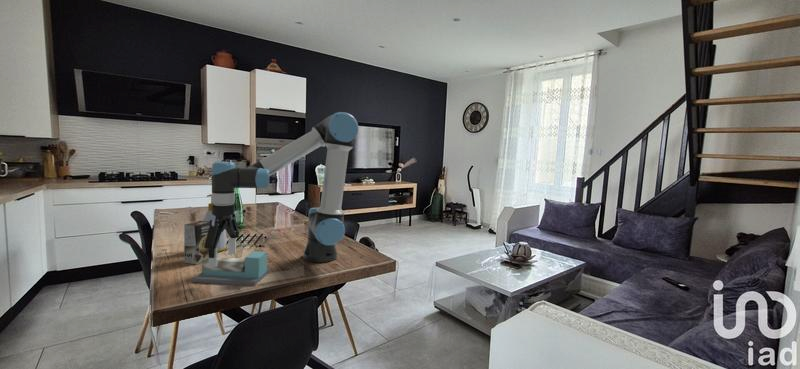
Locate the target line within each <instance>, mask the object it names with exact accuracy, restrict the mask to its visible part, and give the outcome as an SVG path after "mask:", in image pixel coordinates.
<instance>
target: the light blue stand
mask: <svg viewBox="0 0 800 369" xmlns="http://www.w3.org/2000/svg"><path fill="white" fill-rule="evenodd" d="M244 259H245V272H230V271H212V270H205V271H204V273H202V272H201V273H199V274H197V275H195V276H194V277H193V278H192V279H193V280H192V282H193V283H201V284H202V283H205V284H216V285H217V284H220V285H237V286H256V285H257V284H259V282H261V281H262V280H263V279H264V278H265V277H266V276H267V275H269V273H270V272H271V267H268V252H267V251H257V250H256V251H253V252H251V253H249V254H247V256H245V258H244Z"/></svg>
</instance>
